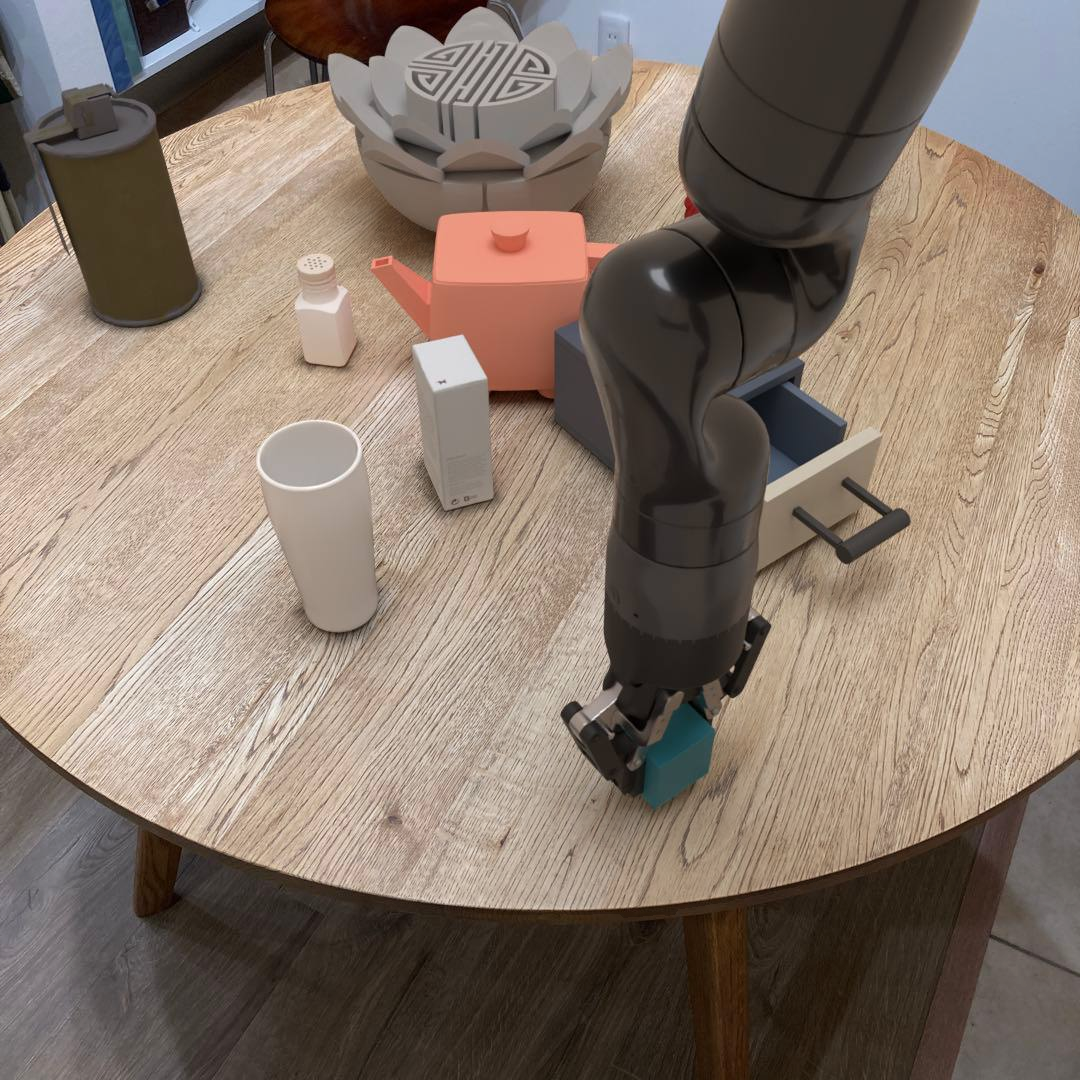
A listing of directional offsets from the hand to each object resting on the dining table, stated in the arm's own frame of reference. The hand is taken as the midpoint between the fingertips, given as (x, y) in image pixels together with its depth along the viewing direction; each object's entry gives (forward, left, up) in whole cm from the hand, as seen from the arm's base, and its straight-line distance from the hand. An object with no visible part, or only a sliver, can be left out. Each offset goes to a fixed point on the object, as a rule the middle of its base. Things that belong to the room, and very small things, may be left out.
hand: (659, 763), depth 68 cm
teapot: (+40, -17, -2) cm, 44 cm away
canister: (+70, +5, -2) cm, 71 cm away
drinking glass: (+24, +9, -2) cm, 26 cm away
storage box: (+24, -22, -2) cm, 33 cm away
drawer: (+12, -22, -1) cm, 25 cm away
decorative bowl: (+64, -30, -2) cm, 71 cm away
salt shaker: (+51, -5, -2) cm, 52 cm away
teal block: (0, 0, 0) cm, 0 cm away
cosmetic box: (+30, -5, -2) cm, 31 cm away
